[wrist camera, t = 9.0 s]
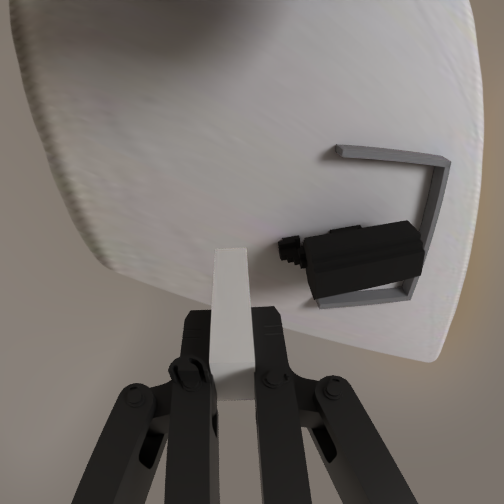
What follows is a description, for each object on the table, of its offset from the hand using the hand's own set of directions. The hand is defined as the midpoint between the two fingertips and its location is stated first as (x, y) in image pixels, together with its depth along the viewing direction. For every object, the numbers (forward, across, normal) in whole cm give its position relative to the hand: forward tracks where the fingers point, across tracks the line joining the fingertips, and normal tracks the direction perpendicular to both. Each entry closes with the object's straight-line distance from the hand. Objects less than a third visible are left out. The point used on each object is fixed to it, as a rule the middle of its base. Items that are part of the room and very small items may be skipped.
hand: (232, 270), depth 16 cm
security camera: (+24, +15, -14) cm, 32 cm away
